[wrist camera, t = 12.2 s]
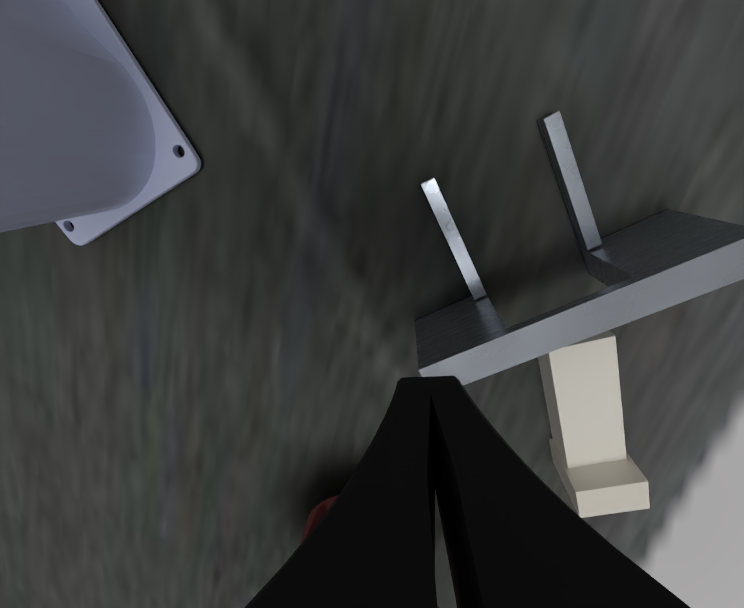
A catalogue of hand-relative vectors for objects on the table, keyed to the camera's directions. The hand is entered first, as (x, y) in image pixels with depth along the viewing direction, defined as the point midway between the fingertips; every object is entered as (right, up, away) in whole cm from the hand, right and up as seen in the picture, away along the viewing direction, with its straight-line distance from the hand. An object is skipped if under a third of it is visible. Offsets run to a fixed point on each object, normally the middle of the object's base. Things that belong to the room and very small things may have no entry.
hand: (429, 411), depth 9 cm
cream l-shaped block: (+10, -3, +11) cm, 15 cm away
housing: (+5, +6, +8) cm, 11 cm away
